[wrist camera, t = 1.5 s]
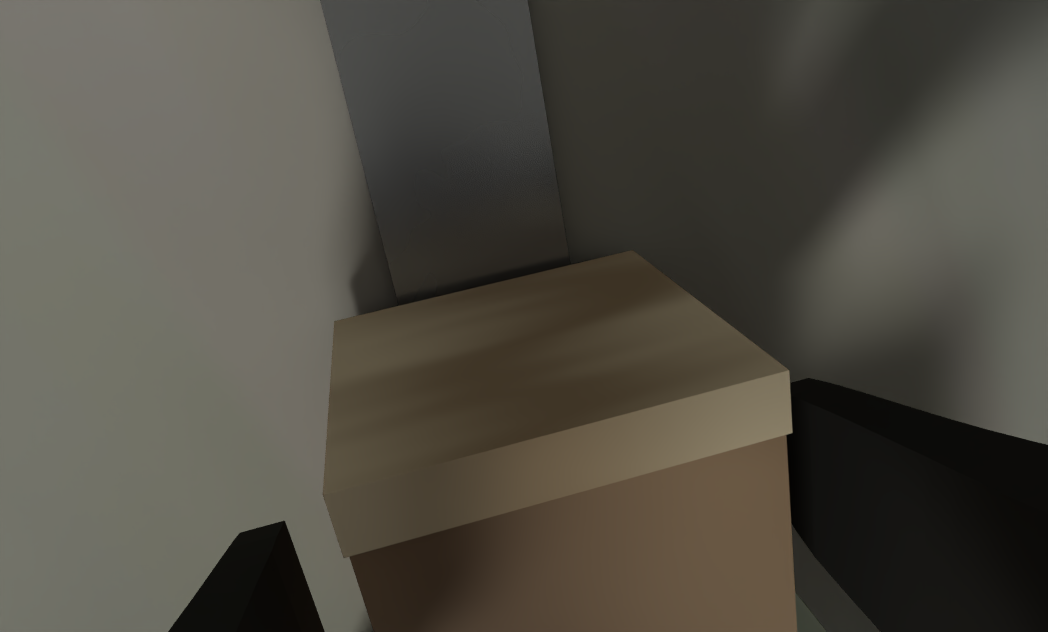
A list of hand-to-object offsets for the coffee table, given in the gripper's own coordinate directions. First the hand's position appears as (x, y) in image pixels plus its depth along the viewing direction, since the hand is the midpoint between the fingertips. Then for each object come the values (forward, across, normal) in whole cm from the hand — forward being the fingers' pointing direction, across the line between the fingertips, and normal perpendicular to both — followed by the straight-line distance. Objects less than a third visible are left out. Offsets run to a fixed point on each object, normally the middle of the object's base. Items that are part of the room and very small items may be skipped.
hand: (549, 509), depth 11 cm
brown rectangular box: (+3, 0, +4) cm, 5 cm away
